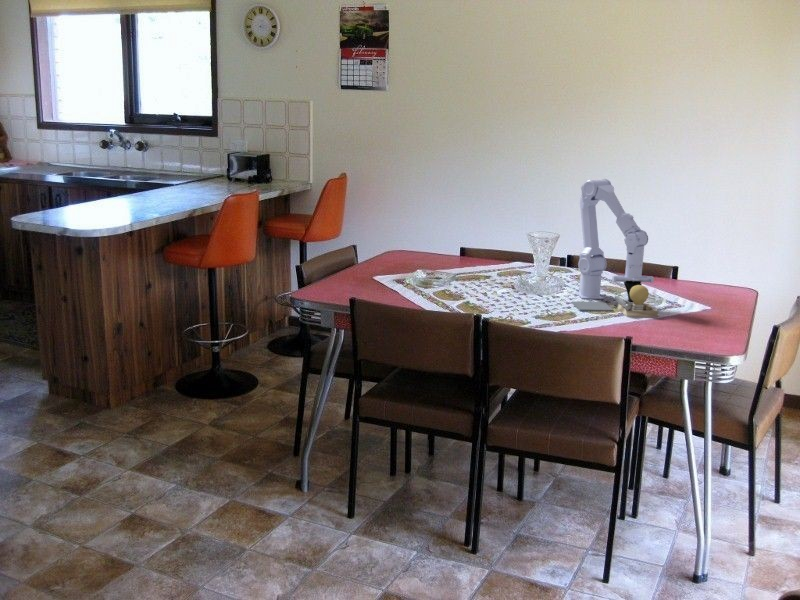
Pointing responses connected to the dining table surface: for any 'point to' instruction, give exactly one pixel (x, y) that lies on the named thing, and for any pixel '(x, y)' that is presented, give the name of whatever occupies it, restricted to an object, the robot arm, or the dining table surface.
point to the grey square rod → (623, 303)
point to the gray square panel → (592, 306)
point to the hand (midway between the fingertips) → (631, 301)
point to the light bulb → (638, 296)
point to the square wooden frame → (639, 311)
